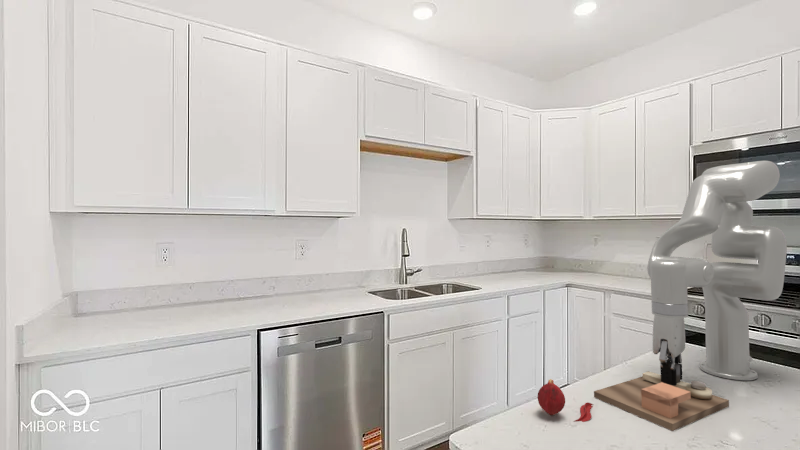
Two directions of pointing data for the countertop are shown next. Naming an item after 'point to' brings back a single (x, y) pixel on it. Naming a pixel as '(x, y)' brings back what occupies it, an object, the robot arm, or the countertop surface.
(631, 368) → the countertop surface
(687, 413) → the board
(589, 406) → the cayenne pepper
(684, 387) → the link
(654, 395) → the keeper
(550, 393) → the red rounded oval piece
